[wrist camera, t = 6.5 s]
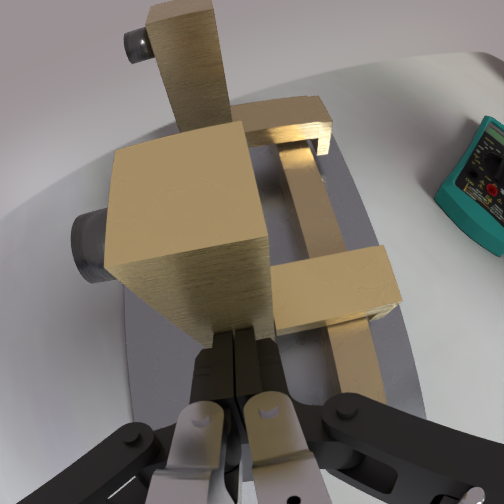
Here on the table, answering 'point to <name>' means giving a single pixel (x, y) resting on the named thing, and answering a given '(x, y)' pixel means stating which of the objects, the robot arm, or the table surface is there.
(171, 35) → the tan block assembly
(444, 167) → the table surface
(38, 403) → the table surface
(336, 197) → the flange plate
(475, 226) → the digital multimeter
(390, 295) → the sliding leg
